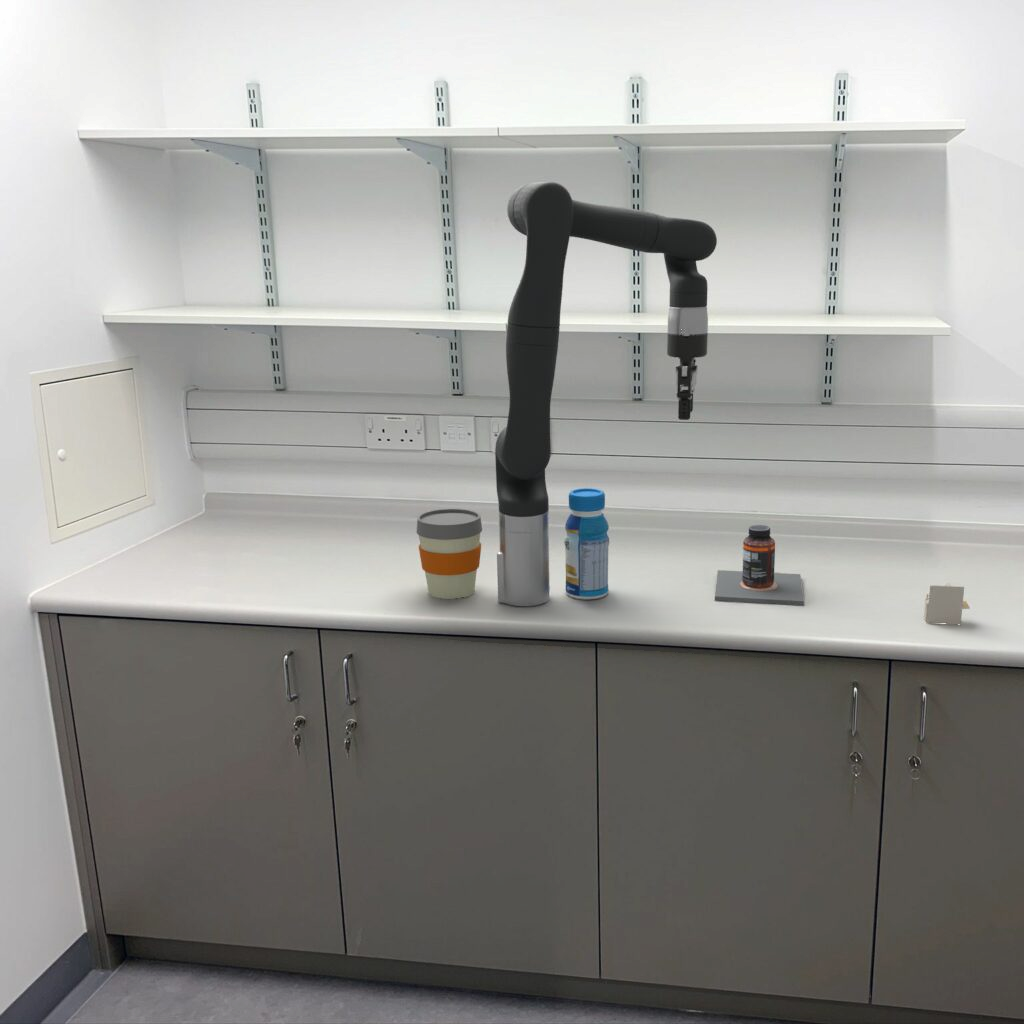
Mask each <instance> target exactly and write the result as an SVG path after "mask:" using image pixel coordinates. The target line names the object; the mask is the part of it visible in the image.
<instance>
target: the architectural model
mask: <svg viewBox="0 0 1024 1024" xmlns="http://www.w3.org/2000/svg"><path fill="white" fill-rule="evenodd" d="M964 593H965V586H960V585H959V586H958V585H957V586H956V585H951V584H950V583H949V582H947V583H945V585H932V584H930V585H929V594H928V593H927V594H926V599H925V600H924V602H925V603H924V614H923V621H924V620H925V621H924V623H925V622H927V623H946V624H961V625H962V615H963V610H970V609H971V608H970V605H969V603H967V601H966V600H964ZM927 623H926V624H927Z"/></svg>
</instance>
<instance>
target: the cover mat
mask: <svg viewBox="0 0 1024 1024" xmlns="http://www.w3.org/2000/svg"><path fill="white" fill-rule="evenodd" d="M742 575H743V570H726V569H725V570H724V569H721V570H720V569H719V570H717V574H716V583H715V592H714V601H716V600H721V601H720V602H734V601H739V602H738V603H752V602H757V603H756V604H770V603H775V604H774V605H789V604H797V605H796V606H804V604H805V599H804V593H803V584H802V577H801V576H802V575H801V573H785V572H784V573H782V572H774V583H773V585H772V586H770V587H766V588H753V587H748V586H746V585H745V584H744V583H743V581H742V580H743V579H742ZM722 600H724V601H722ZM758 602H759V603H758ZM778 603H779V604H778Z"/></svg>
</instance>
